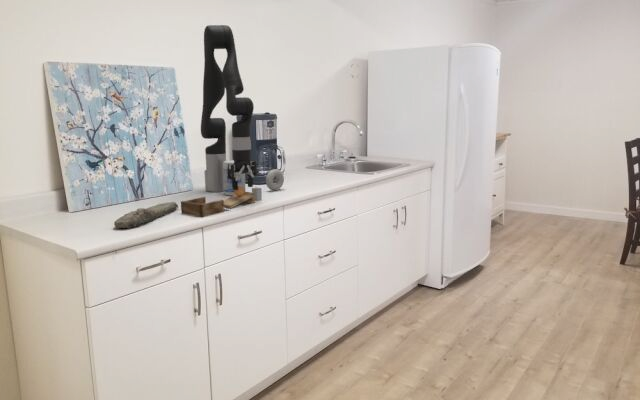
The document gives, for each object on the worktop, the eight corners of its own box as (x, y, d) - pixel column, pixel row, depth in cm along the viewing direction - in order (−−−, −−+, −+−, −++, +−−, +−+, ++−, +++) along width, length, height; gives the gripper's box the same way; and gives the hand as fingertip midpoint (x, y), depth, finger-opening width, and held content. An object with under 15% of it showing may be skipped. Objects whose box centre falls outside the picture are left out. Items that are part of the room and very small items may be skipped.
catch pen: (204, 208, 200) (203, 196, 199) (223, 211, 193) (223, 200, 193) (181, 213, 191) (180, 201, 190) (201, 217, 185) (200, 204, 184)
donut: (269, 192, 232) (268, 170, 230) (264, 191, 235) (263, 169, 233) (285, 189, 239) (285, 168, 237) (280, 188, 242) (280, 167, 240)
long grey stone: (185, 212, 200) (162, 212, 202) (184, 199, 199) (161, 199, 202) (133, 230, 166) (106, 230, 169) (132, 213, 166) (105, 214, 168)
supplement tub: (227, 196, 223) (225, 163, 220) (221, 193, 231) (220, 160, 228) (248, 195, 227) (247, 161, 224) (242, 191, 235) (241, 159, 232)
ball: (238, 198, 208) (231, 195, 205) (239, 189, 210) (232, 186, 207) (246, 196, 206) (239, 193, 203) (246, 187, 208) (240, 184, 205)
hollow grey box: (256, 198, 218) (256, 187, 217) (261, 199, 216) (261, 187, 215) (252, 199, 215) (251, 188, 214) (257, 200, 214) (256, 188, 213)
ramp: (242, 200, 214) (242, 191, 213) (254, 202, 210) (254, 192, 209) (217, 206, 203) (217, 196, 202) (230, 208, 199) (229, 198, 198)
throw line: (210, 206, 202) (210, 206, 202) (229, 210, 196) (229, 209, 196) (206, 207, 201) (206, 207, 201) (226, 211, 194) (226, 210, 194)
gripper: (235, 150, 197) (237, 191, 200) (260, 147, 208) (261, 186, 212) (221, 149, 201) (223, 189, 205) (247, 146, 213) (248, 185, 216)
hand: (243, 188), depth 208 cm, fingers open, 8 cm apart
